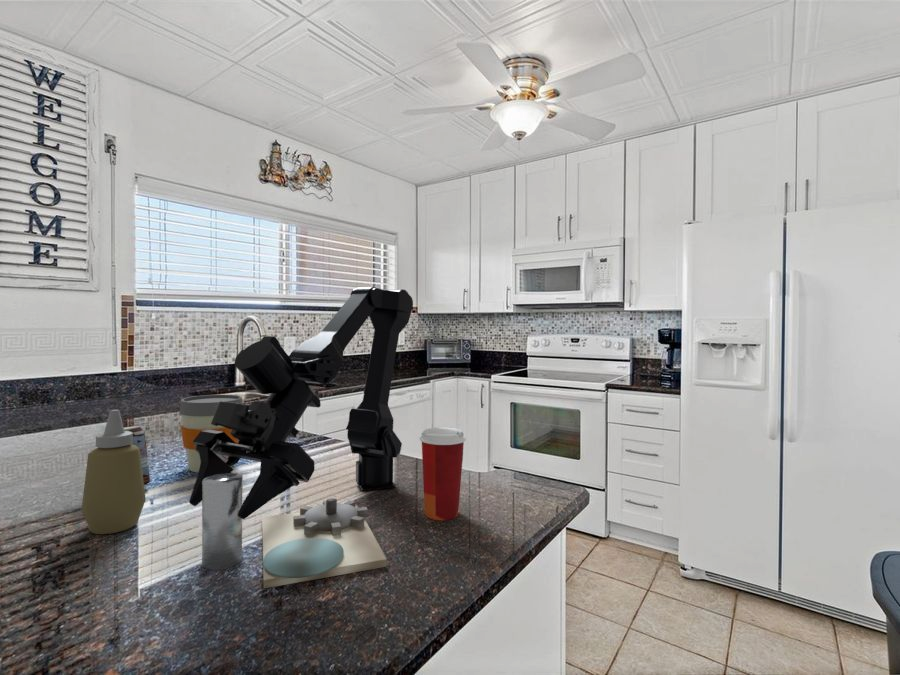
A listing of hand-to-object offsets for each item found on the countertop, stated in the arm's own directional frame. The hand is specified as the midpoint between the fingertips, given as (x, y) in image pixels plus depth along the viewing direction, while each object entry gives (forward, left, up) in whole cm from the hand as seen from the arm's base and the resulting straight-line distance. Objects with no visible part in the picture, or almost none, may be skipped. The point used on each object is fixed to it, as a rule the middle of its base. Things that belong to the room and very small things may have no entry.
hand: (215, 510), depth 62 cm
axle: (-1, -1, -7) cm, 7 cm away
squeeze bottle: (+15, -18, -7) cm, 24 cm away
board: (-13, -2, -7) cm, 15 cm away
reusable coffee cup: (+4, -48, -7) cm, 48 cm away
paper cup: (-34, -6, -7) cm, 35 cm away
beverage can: (+17, -36, -7) cm, 40 cm away
